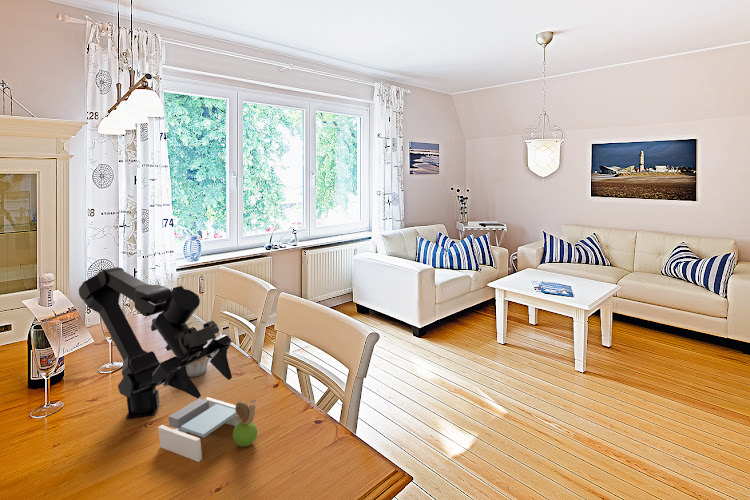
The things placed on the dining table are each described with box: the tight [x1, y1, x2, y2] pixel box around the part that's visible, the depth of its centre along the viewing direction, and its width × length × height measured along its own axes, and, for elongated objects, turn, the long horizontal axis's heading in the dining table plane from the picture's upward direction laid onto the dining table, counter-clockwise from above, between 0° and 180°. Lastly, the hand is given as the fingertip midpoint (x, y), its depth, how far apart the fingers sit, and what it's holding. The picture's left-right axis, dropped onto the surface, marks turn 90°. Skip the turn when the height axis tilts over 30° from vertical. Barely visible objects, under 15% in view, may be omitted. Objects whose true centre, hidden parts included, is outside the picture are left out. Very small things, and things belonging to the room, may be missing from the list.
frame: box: [157, 396, 240, 463], centre depth 102 cm, size 14×12×5 cm
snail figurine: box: [232, 399, 258, 448], centre depth 98 cm, size 5×6×12 cm
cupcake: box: [186, 346, 211, 378], centre depth 134 cm, size 9×9×10 cm
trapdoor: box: [168, 397, 237, 438], centre depth 101 cm, size 11×12×2 cm
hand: (215, 387), depth 97 cm, fingers open, 9 cm apart
